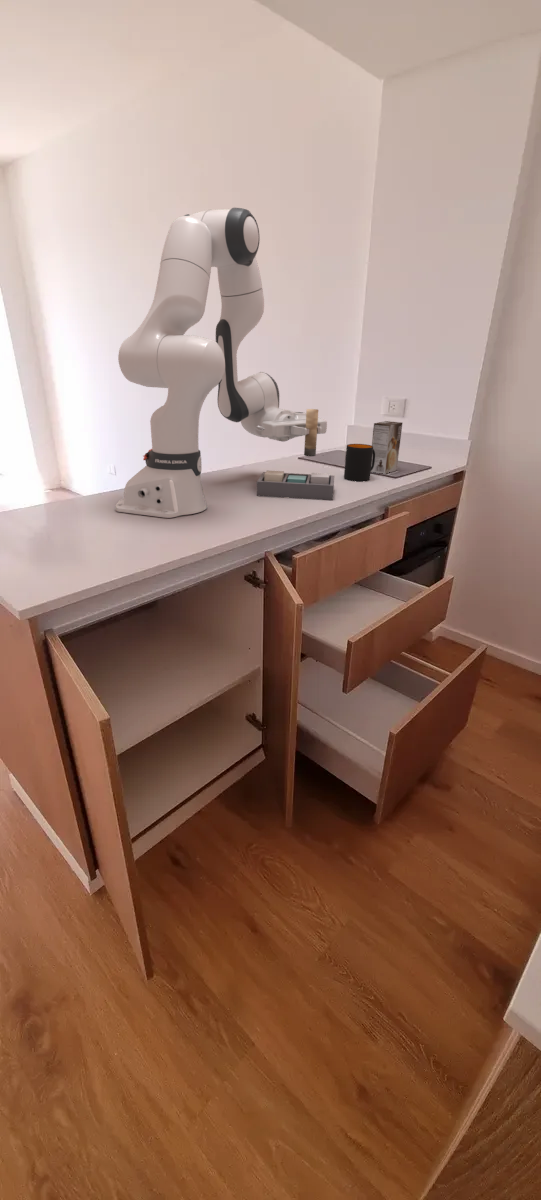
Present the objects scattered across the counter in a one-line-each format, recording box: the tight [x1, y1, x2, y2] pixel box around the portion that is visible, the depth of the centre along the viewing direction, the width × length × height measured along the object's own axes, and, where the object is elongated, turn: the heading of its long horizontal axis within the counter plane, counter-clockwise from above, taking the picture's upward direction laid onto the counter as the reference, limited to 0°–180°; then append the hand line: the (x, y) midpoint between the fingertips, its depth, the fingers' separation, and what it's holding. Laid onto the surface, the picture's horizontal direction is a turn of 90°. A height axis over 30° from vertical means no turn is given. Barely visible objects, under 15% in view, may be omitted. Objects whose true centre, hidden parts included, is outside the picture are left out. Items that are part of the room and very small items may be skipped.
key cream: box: [264, 470, 285, 482], centre depth 148 cm, size 5×5×3 cm
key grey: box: [310, 472, 330, 485], centre depth 147 cm, size 5×5×3 cm
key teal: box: [287, 475, 306, 483], centre depth 148 cm, size 5×5×3 cm
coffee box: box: [371, 420, 403, 475], centre depth 176 cm, size 9×6×16 cm
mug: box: [343, 443, 375, 483], centre depth 166 cm, size 8×12×10 cm
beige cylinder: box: [303, 408, 319, 457], centre depth 142 cm, size 3×3×12 cm
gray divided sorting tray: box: [256, 471, 335, 501], centre depth 148 cm, size 21×13×4 cm, turn 83°
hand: (313, 431), depth 141 cm, fingers closed on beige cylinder, 3 cm apart
